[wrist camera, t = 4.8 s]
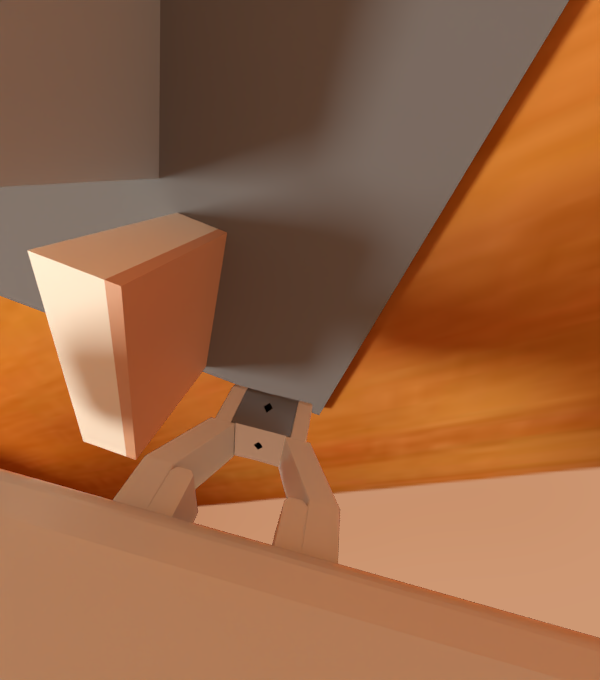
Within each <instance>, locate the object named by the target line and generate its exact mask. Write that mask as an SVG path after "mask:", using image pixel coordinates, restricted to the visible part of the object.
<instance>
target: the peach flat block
mask: <svg viewBox="0 0 600 680" xmlns="http://www.w3.org/2000/svg"><path fill="white" fill-rule="evenodd" d="M226 237H227V232H225V231H222V230H219V229H217V228H214V227H212V226H209V225H207V224H204V223H202V222H199V221H197V220H194V219H192V218H189V217H187V216H184V215H182V214H179V213H174V214H170V215H166V216H162V217H158V218H154V219H150V220H146V221H142V222H138V223H134V224H130V225H126V226H122V227H118V228H114V229H110V230H106V231H102V232H98V233H94V234H90V235H86V236H82V237H78V238H74V239H70V240H66V241H62V242H58V243H54V244H50V245H46V246H42V247H38V248H35V249H31V250H27V251H28V255H29V258H30V261H31V265H32V268H33V272H34V275H35V278H36V282H37V285H38V289H39V292H40V295H41V299H42V302H43V306H44V309H45V312H46V316H47V319H48V323H49V326H50V329H51V333H52V336H53V340H54V343H55V346H56V350H57V353H58V357H59V360H60V363H61V367H62V370H63V374H64V377H65V380H66V384H67V387H68V391H69V394H70V398H71V401H72V404H73V408H74V411H75V415H76V418H77V421H78V425H79V428H80V432H81V435H82V438H83V441H84V442H87V443H90V444H93V445H95V446H98V447H101V448H104V449H107V450H109V451H112V452H115V453H118V454H121V455H123V456H126V457H129V458H132V459H135V460H136V459H137V458H138V457H139V455H140V454H141V453H142V451H143V450H144V449H145V447H146V446H147V445H148V443H149V442H150V441H151V439H152V438H153V437H154V435H155V434H156V433H157V431H158V430H159V429H160V427H161V426H162V425H163V423H164V422H165V421H166V419H167V418H168V417H169V415H170V414H171V413H172V411H173V410H174V409H175V407H176V406H177V405H178V403H179V402H180V401H181V399H182V398H183V397H184V395H185V394H186V393H187V391H188V390H189V389H190V387H191V386H192V385H193V383H194V382H195V381H196V379H197V378H198V377H199V375H200V374H201V373H202V371H203V370H204V369H205V367H206V364H207V357H208V351H209V345H210V339H211V332H212V326H213V320H214V313H215V307H216V301H217V294H218V288H219V282H220V275H221V269H222V263H223V256H224V250H225V244H226Z"/></svg>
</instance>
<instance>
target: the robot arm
mask: <svg viewBox="0 0 600 680" xmlns="http://www.w3.org/2000/svg"><path fill="white" fill-rule="evenodd" d="M298 402H299V403H298ZM311 412H312V404H311V403H307V402H303V401H299V400H295V399H291V398H287V397H282V396H278V395H273V394H269V393H265V392H262V391H258V390H255V389H251V388H247V387H243V386H240V385H236V384H235V385H234V386H233V387H232V389H231V391H230V393H229V394H228V396H227V398H226V400H225V401H224V403H223V405H222V407H221V409H220V410H219V412H218V414H217V416H216V418H212V417H211V418H209V419H207V420H206V421H204V422H202V423H201V424H199V425H197V426H195V427H194V428H192V429H190V430H189V431H187V432H185V433H183V434H182V435H180V436H178V437H177V438H175V439H173V440H171V441H170V442H168V443H166V444H165V445H163V446H161V447H159V448H158V449H156V450H154V451H153V452H151V453H149V454H147V455H146V456H145V457H144V458H143V459H142V461H141V462H140V463H139V465H138V466H137V467H136V469H135V470H134V472H133V473H132V474H131V476H130V477H129V478H128V480H127V481H126V482H125V484H124V485H123V486H122V488H121V489H120V491H119V492H118V493H117V495H116V496H115V497H114V499H113V500H110V499H107V498H103V497H100V496H96V495H92V494H89V493H85V492H82V491H78V490H75V489H71V488H68V487H64V486H61V485H57V484H53V483H50V482H46V481H43V480H39V479H36V478H32V477H29V476H25V475H22V474H18V473H14V472H11V471H7V470H4V469H0V680H600V638H598V637H595V636H591V635H588V634H584V633H581V632H577V631H574V630H570V629H567V628H563V627H560V626H556V625H552V624H549V623H545V622H542V621H538V620H535V619H531V618H527V617H524V616H521V615H517V614H514V613H510V612H506V611H503V610H499V609H496V608H492V607H489V606H485V605H482V604H478V603H475V602H471V601H467V600H464V599H461V598H457V597H453V596H450V595H446V594H443V593H439V592H436V591H432V590H428V589H425V588H422V587H418V586H414V585H411V584H407V583H404V582H400V581H397V580H393V579H390V578H386V577H383V576H379V575H376V574H372V573H368V572H365V571H361V570H358V569H354V568H351V567H347V566H344V565H340V564H338V547H339V523H340V508H339V506H338V504H337V502H336V499H335V497H334V495H333V493H332V490H331V488H330V486H329V484H328V482H327V479H326V477H325V475H324V473H323V470H322V468H321V466H320V464H319V462H318V459H317V457H316V455H315V453H314V450H313V448H312V446H311V444H310V443H308V442H306V440H307V434H308V429H309V423H310V417H311ZM233 455H236V456H240V457H244V458H249V459H253V460H257V461H260V462H264V463H267V464H270V465H274V466H277V467H279V471H280V475H281V479H282V483H283V487H284V490H285V494H286V498H287V499H286V500H285V501H284V504H283V508H282V511H281V514H280V518H279V521H278V525H277V528H276V531H275V535H274V540H273V544H272V545H269V544H266V543H262V542H259V541H255V540H251V539H248V538H245V537H241V536H237V535H234V534H230V533H227V532H223V531H220V530H216V529H213V528H209V527H206V526H202V525H199V524H195V523H193V522H194V520H195V518H196V515H197V513H198V508H197V500H196V493H195V489H196V488H197V487H199V486H200V485H201V484H202V483H203V482H204V481H206V480H207V479H208V478H209V477H210V476H211V475H213V474H214V473H215V472H216V471H217V470H218V469H220V468H221V467H222V466H223V465H224V464H225V463H226V462H228V461H229V460H230V459H231V458H232V457H233Z"/></svg>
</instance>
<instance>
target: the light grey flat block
mask: <svg viewBox="0 0 600 680" xmlns="http://www.w3.org/2000/svg"><path fill="white" fill-rule="evenodd" d="M159 107H160V0H0V187H8V186H26V185H45V184H64V183H82V182H101V181H120V180H139V179H157V178H159Z"/></svg>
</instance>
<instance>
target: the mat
mask: <svg viewBox="0 0 600 680" xmlns="http://www.w3.org/2000/svg"><path fill="white" fill-rule="evenodd" d="M568 1H569V0H160V107H159V178H157V179H139V180H120V181H101V182H82V183H64V184H45V185H26V186H8V187H0V296H2V297H5V298H8V299H10V300H13V301H16V302H18V303H21V304H24V305H26V306H29V307H32V308H34V309H37V310H40V311H42V312H45V309H44V306H43V302H42V299H41V295H40V292H39V289H38V285H37V282H36V278H35V275H34V272H33V268H32V265H31V261H30V258H29V255H28V251H27V250H31V249H35V248H38V247H42V246H46V245H50V244H54V243H58V242H62V241H66V240H70V239H74V238H78V237H82V236H86V235H90V234H94V233H98V232H102V231H106V230H110V229H114V228H118V227H122V226H126V225H130V224H134V223H138V222H142V221H146V220H150V219H154V218H158V217H162V216H166V215H170V214H174V213H179V214H182V215H184V216H187V217H189V218H192V219H194V220H197V221H199V222H202V223H204V224H207V225H209V226H212V227H214V228H217V229H219V230H222V231H225V232H227V237H226V244H225V250H224V256H223V263H222V269H221V275H220V282H219V288H218V294H217V301H216V307H215V313H214V320H213V326H212V332H211V339H210V345H209V351H208V357H207V364H206V367H205V369H204V370H203V372H205V373H208V374H211V375H213V376H216V377H219V378H221V379H224V380H227V381H229V382H232V383H235V384H237V385H240V386H243V387H247V388H251V389H255V390H258V391H262V392H265V393H269V394H273V395H278V396H282V397H287V398H291V399H295V400H299V401H303V402H307V403H311V404H312V413H315V414H317V415H319V414H320V413H321V411H322V409H323V408H324V406H325V404H326V403H327V401H328V399H329V398H330V396H331V394H332V393H333V391H334V389H335V388H336V386H337V384H338V383H339V381H340V379H341V378H342V376H343V374H344V373H345V371H346V369H347V368H348V366H349V365H350V363H351V361H352V360H353V358H354V356H355V355H356V353H357V351H358V350H359V348H360V346H361V345H362V343H363V341H364V340H365V338H366V336H367V335H368V333H369V331H370V330H371V328H372V326H373V325H374V323H375V321H376V320H377V318H378V316H379V315H380V313H381V311H382V310H383V308H384V306H385V305H386V303H387V302H388V300H389V298H390V297H391V295H392V293H393V292H394V290H395V288H396V287H397V285H398V283H399V282H400V280H401V278H402V277H403V275H404V273H405V272H406V270H407V268H408V267H409V265H410V263H411V262H412V260H413V258H414V257H415V255H416V253H417V252H418V250H419V248H420V247H421V245H422V243H423V242H424V240H425V238H426V237H427V235H428V234H429V232H430V230H431V229H432V227H433V225H434V224H435V222H436V220H437V219H438V217H439V215H440V214H441V212H442V210H443V209H444V207H445V205H446V204H447V202H448V200H449V199H450V197H451V195H452V194H453V192H454V190H455V189H456V187H457V185H458V184H459V182H460V180H461V179H462V177H463V175H464V174H465V172H466V170H467V169H468V167H469V166H470V164H471V162H472V161H473V159H474V157H475V156H476V154H477V152H478V151H479V149H480V147H481V146H482V144H483V142H484V141H485V139H486V137H487V136H488V134H489V132H490V131H491V129H492V127H493V126H494V124H495V122H496V121H497V119H498V117H499V116H500V114H501V112H502V111H503V109H504V107H505V106H506V104H507V102H508V101H509V99H510V98H511V96H512V94H513V93H514V91H515V89H516V88H517V86H518V84H519V83H520V81H521V79H522V78H523V76H524V74H525V73H526V71H527V69H528V68H529V66H530V64H531V63H532V61H533V59H534V58H535V56H536V54H537V53H538V51H539V49H540V48H541V46H542V44H543V43H544V41H545V39H546V38H547V36H548V34H549V33H550V31H551V30H552V28H553V26H554V25H555V23H556V21H557V20H558V18H559V16H560V15H561V13H562V11H563V10H564V8H565V6H566V5H567V3H568ZM45 313H46V312H45ZM298 403H299V402H298Z"/></svg>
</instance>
